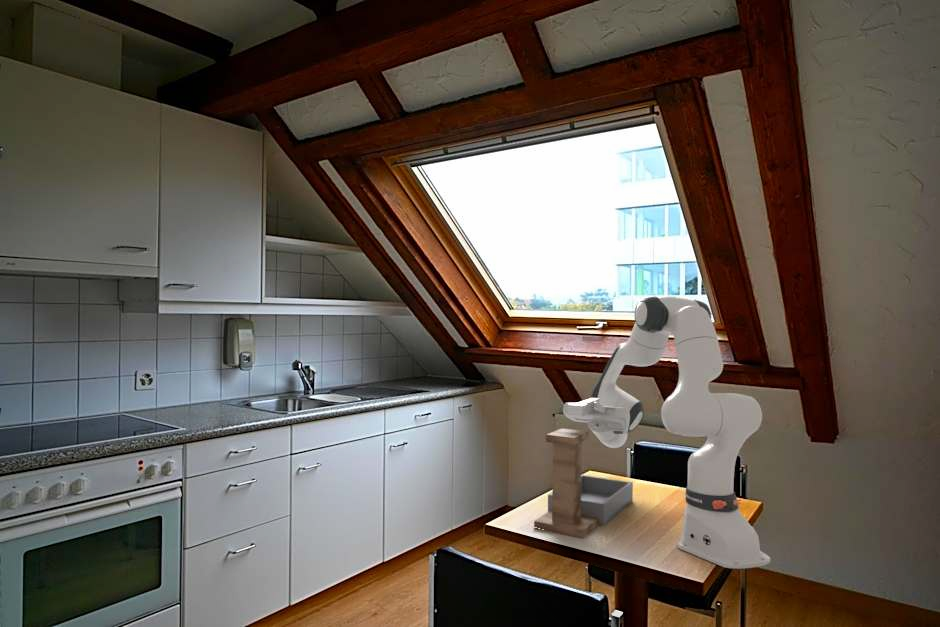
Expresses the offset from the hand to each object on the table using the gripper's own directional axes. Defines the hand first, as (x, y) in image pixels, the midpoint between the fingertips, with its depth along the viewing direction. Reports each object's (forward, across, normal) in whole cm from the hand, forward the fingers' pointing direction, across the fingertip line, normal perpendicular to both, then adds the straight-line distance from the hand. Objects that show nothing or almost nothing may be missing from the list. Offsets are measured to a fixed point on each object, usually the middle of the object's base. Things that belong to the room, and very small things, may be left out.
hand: (588, 403), depth 190 cm
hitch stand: (-2, 0, +36) cm, 36 cm away
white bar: (+1, 0, +3) cm, 3 cm away
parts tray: (-19, 0, +26) cm, 32 cm away
